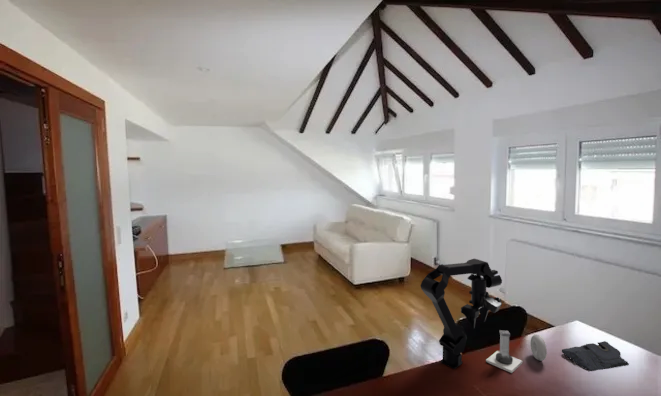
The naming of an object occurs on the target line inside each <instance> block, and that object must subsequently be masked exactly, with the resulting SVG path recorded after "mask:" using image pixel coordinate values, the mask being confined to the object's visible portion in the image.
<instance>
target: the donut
mask: <svg viewBox="0 0 661 396" xmlns="http://www.w3.org/2000/svg"><path fill="white" fill-rule="evenodd" d="M529 343H530V351H531V354H532V355H533V357H534V359H535V360H536V361H544V360H546V358H547V355H548V352H547V345H546V341H545V339H544V338H543V337H542V336H541V335H540V334H534V335H532V336H531V337H530V342H529Z"/></svg>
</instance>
